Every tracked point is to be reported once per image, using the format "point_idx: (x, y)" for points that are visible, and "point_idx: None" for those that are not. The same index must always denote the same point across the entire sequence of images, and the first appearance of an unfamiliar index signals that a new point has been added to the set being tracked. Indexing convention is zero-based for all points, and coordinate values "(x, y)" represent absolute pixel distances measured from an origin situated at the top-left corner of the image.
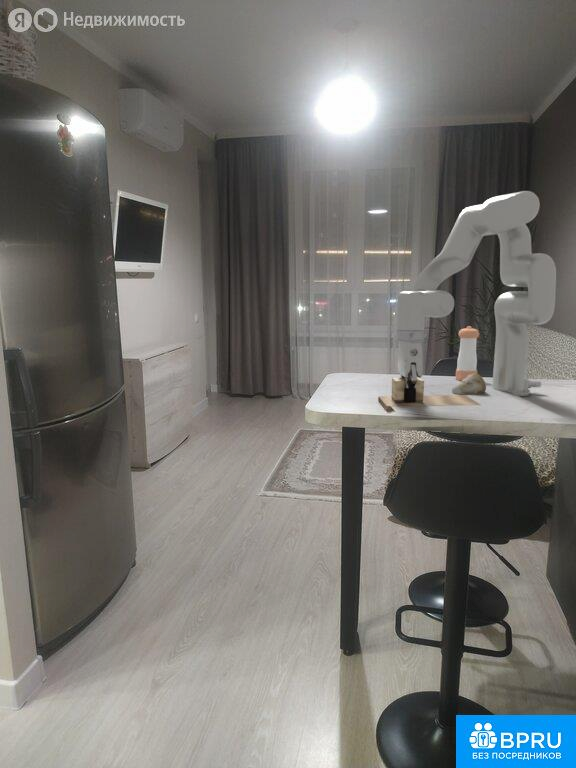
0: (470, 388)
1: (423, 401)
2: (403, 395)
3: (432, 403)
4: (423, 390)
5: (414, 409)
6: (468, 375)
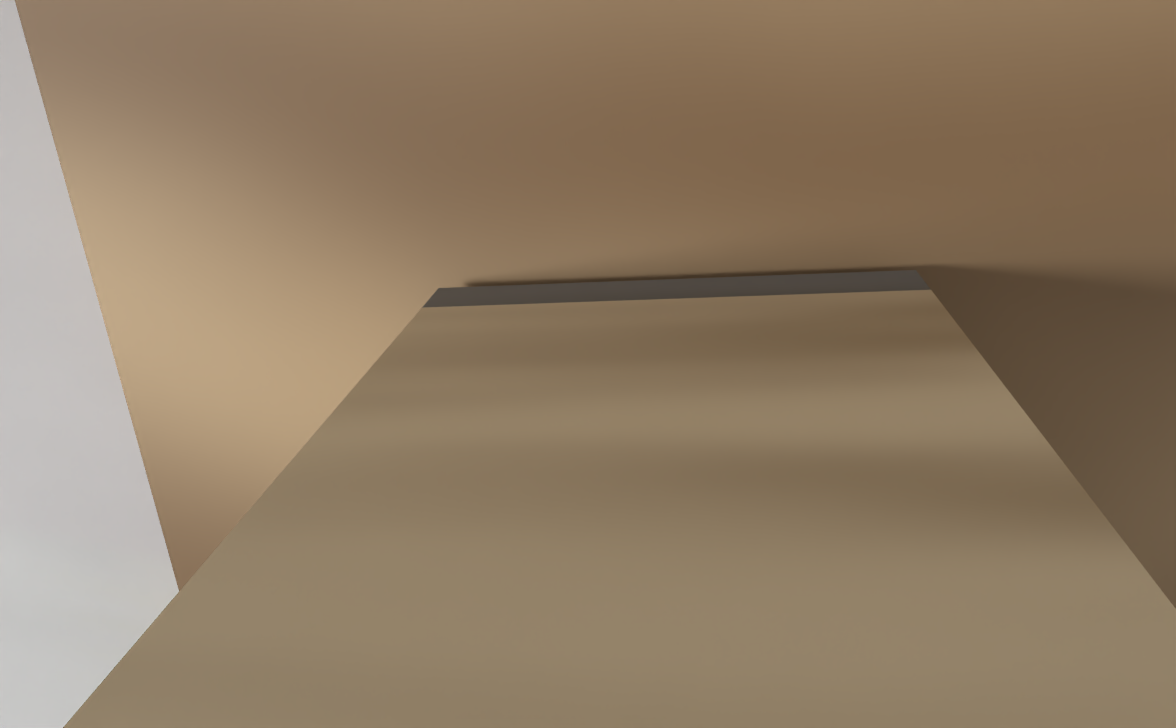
0: None
1: (806, 231)
2: None
3: (1116, 3)
4: (1023, 430)
5: None
6: None
